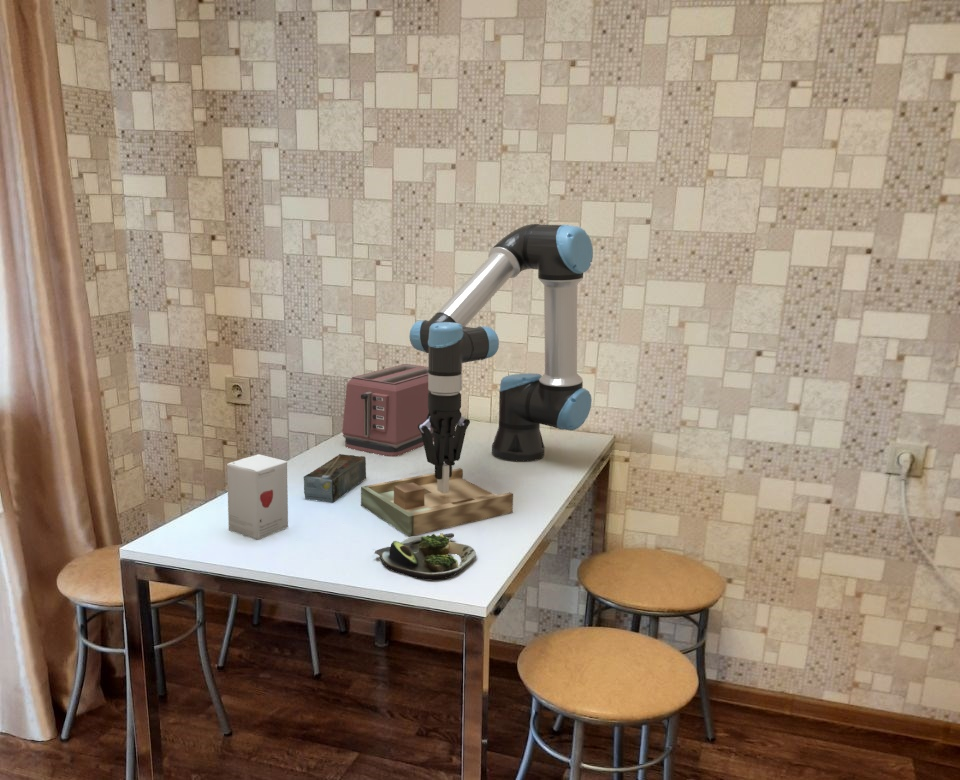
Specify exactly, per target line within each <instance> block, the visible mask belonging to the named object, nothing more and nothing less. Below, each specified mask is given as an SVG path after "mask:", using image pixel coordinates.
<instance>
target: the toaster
mask: <svg viewBox="0 0 960 780" xmlns="http://www.w3.org/2000/svg"><path fill="white" fill-rule="evenodd" d="M428 369H429V367H428V366H423V365H422V366H421V365H416V364H409V363H404V364H400V365H395V366H391V367H387V368H383V369H380V370H379V369H378V370H376V371H371V372H367V373H364V374H360V375H355V376H352V377H351V379H350V380H349V381H348V382H347V383H346V389H345V391H346V393H345V399H344V400H345V401H344V409H343V410H344V411H343V420H342V422H343V423H342V431H341V432H342V437H343V438H344V439H345V442H344V443H345V447H346V448H347V447H348V448H347V449H349V448H351V450H354V449H355V451H359V452H363V451H364V452H363V453H368V452H370V453H369V454H373V453H374V455H378V454H379V456H383V455H384V456H383V457H399V456H402V455H404V454H406V452H407V453H409V452H411V450H412V451H414V450H416V449H419V448H422V447H424V446H423V445H424V444H423V439H422V434H421V432H420V431H419V429H418V424H423V423H424V422H425V421H426V420H427V415H428V413H429V410H428V393H429V392H430V391H429V390H428ZM430 428H431V431H430V432H431V435H432V439H433V442H434V435H433V428H432V427H431V425H430ZM418 447H419V448H418ZM413 449H414V450H413ZM398 455H399V456H398Z"/></svg>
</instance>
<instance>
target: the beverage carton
mask: <svg viewBox="0 0 960 780" xmlns="http://www.w3.org/2000/svg"><path fill="white" fill-rule="evenodd" d="M366 458H367V457H366V456H363V455H361V456H360V455H353V454H352V455H351V454H342V453H339V454H338V455H336V456H334V457H333V458H332V459H330V460H328V461H327V462H325V463H324V464H322V465H321V466H319V467H317V468H316V469H314V470H313V471H311V472H310V473H309V472H308V474H306V475H304V476H303V493H304V499H305V500H309V499H310V501H311V500H312V501H316V500H317V502H323V503H334V502H336V501H337V500H338V499H340V498H342V497H343V496H344V495H345V494H347V493H348V492H350V491H351V490H353V489H354V488H355V487H356V486H358V485H359V484H360V483H361V482H363V481H365V480H367V463H366Z"/></svg>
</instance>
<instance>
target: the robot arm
mask: <svg viewBox="0 0 960 780" xmlns="http://www.w3.org/2000/svg"><path fill="white" fill-rule="evenodd" d="M487 257H488V258H487V259H486V260H485V261H483V263H482V264H481V265H480V266H479V267H478V268H477V269H476V270H475V272H473V274H471V276H470V277H469V278H468V279H466V281H465V282H464V283H463V284H462V285H461V286H460V287H459V288H458V289H457V290H456V292H454V294H453V295H451V297H450V298H449V299H448V300H447V301H446V302H445V303H444V304H443V305H442V306H441V308H440V309H439V310H437V312H436V313H435V314H434V315H433V316H432V317H431V318H430V319H429V320H427V319H424V320H423V319H422V320H418V321H416V322H414V323H413V324H412V326H411V328H410V330H409V341H410V342H409V343H410V344H411V346H412V347H413V348H414V350H417V351H420V352H424V353H426V354H428V366H427V367H429V369H428V390H429V391H430V392H429V393H428V410H429V413H428V415H427V420H426V421H425V422H424V423H423V424H418V429H419V431H420V432H421V434H422V439H423V444H424V446H423V447H424V452H425V457H426V461H427V462H428V463H430V464H431V465H432V466H434V473H435V478H437V490H438V491H439V492H441V493H443V494H444V493H449V477H451V476H452V470H453V467H454V466H455V465H456V462H457V461H460V459H461V454H462V450H463V445H464V442H465V436H466V433H467V429H468V427H469V425H470V424H471V420H470V419H468V418H466V417H463V416H462V412H461V407H462V393H461V391H462V390H463V389H462V387H463V383H462V381H463V380H462V379H463V377H462V376H463V374H462V372H463V364H464V363H470V362H475V361H483V360H486V359H489V358H492V357H494V356H495V355H496V354H497V352H498V350H499V345H500V339H499V336H498V334H497V332H496V331H495V330H494V329H493V328H491V327H489V326H477V327H471V326H468V324H469V323H470V322H471V321H472V320H473V319H474V318H475V317H476V315H478V313H479V312H480V311H481V310H482V309H483V308H484V307H485V306H486V305H487V304H488V302H489V301H491V299H492V298H493V297H494V296H495V295H496V293H498V291H499V290H500V289H501V288H502V287H503V286H504V285H505V284H506V282H508V280H509V279H512V278H516V277H517V276H518V275H519V274H520V273H522V272H523V271H526V270H531V269H532V270H538V271H537V279H538V280H539V281H540V283H542V284H543V286H544V287H543V289H544V291H543V293H544V294H543V295H544V297H543V298H544V299H543V300H544V301H543V302H544V303H543V304H544V306H543V307H544V309H543V311H544V312H543V313H544V314H543V316H544V318H543V320H544V374H543V375H542V374H541V373H530V372H528V373H515V374H509V375H505V376H504V377H502V379H500V384H499V390H498V392H499V402H498V407H499V408H498V410H499V411H498V428H497V430H496V432H495V436H494V439H493V443H492V445H491V454H492V456H494V457H495V458H497V459H501V460H504V461H508V462H509V461H510V462H533V461H534V462H535V461H538V460H540V459H543V458H544V457H545V452H546V451H545V449H546V448H545V447H546V446H545V444H544V440H543V436H542V433H541V430H540V429H541V428H540V426H541V425H544V426H549V427H552V428H556V429H559V430H568V431H575V430H577V429H579V428H580V427H581V426H582V425H583V424H584V423H585V422H586V420H587V419H588V417H589V415H590V412H591V408H592V402H593V401H592V395H591V393H590V391H589V390H588V389H586V388H583V386H584V385H583V384H584V382H583V377H581V376H580V375H579V373H578V284H579V283H580V282H581V281H582V280H583V279H584V273H586V272H587V271H588V270H589V269H590V268H591V266H592V264H591V263H592V262H593V257H594V249H593V243H592V240H591V238H590V235H589V234H588V233H587V232H586V230H585V229H583V228H582V227H580V226H575V225H570V224H540V223H530V224H525V225H523V226H521V227H518V228H517V229H515V230H513V231H511V232H509V233H508V234H507V235H506V236H504V237H503V238H501V239H500V240H498V242H497V243H496V244H495V245H494V246H493V247H492V248H491V249H490V250H489V251H488V256H487ZM430 425H431V427H432V428H433V435H434V441H433V439H432V435H431V432H430V431H431V428H430Z"/></svg>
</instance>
